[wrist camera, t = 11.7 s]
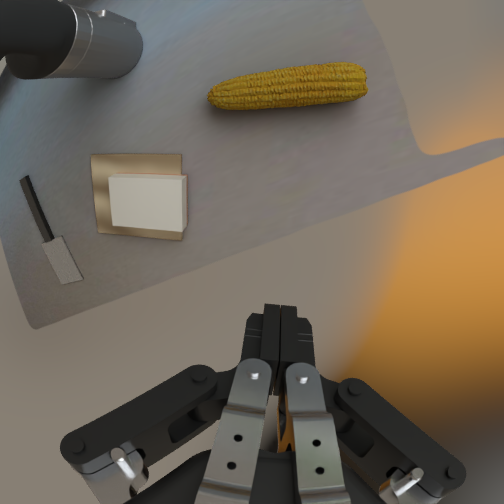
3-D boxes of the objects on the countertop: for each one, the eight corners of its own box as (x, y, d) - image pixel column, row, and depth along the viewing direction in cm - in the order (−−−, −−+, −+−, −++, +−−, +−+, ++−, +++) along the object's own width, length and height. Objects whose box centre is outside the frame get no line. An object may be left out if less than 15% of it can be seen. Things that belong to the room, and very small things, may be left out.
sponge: (187, 174, 45) (117, 172, 45) (181, 179, 42) (108, 177, 43) (187, 224, 48) (120, 218, 49) (182, 231, 46) (112, 225, 46)
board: (92, 154, 44) (90, 154, 44) (181, 154, 44) (180, 155, 43) (99, 231, 51) (98, 232, 50) (182, 239, 50) (181, 240, 50)
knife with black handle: (16, 182, 48) (13, 184, 47) (35, 170, 46) (32, 172, 45) (62, 283, 58) (60, 286, 57) (84, 278, 56) (81, 281, 55)
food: (356, 63, 35) (367, 57, 30) (362, 100, 38) (374, 100, 33) (208, 84, 39) (197, 82, 34) (216, 121, 41) (207, 124, 36)
